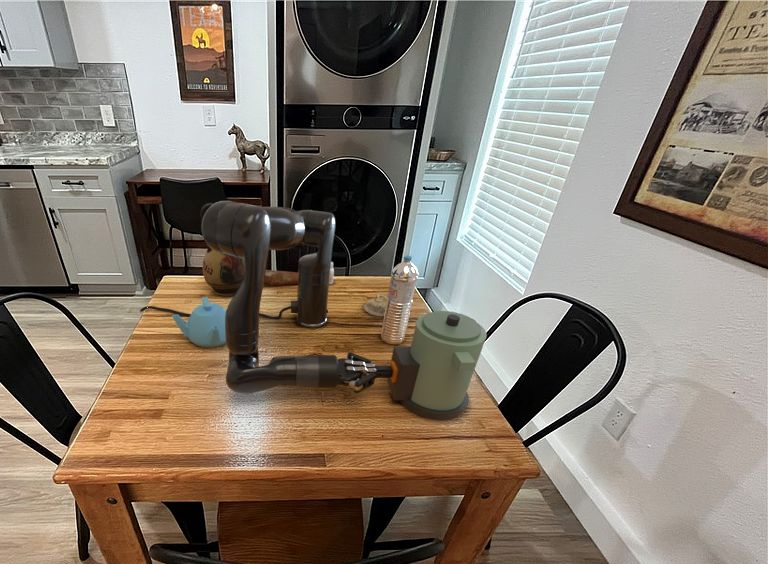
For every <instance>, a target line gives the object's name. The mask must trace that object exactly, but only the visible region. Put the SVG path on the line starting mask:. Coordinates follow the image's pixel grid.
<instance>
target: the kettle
mask: <svg viewBox="0 0 768 564" xmlns="http://www.w3.org/2000/svg"><path fill="white" fill-rule="evenodd" d="M487 336H488V335H487V331H486V329H485V327H483V326H482V325H481V324H480V323H479V322H478V321H477V320H475V319H474V318H472V317H470V316H468V315H466V314H463V313H460V312H456V311H450V310H435V311H430V312H427V313H425V314H422V315H421V316H419V317H418V318H417V319H416V322H415V327H414V331H413V335H412V340H411V343H410V346H393V349H392V355H391V359H390V362H391V361H395V363H396V365H397V368H398V374H397V378H396V383H392V380H391V378H386V382H387V385H388V388H389V391H390V392H391V396H392V398H393V401H399V403H400V404H401V405H402V406H403V407H404V408H405V409H407V410H408V411H410V412H411V413H413V414H414V415H417V416H419V417H422V418H424V419H429V420H433V421H435V420H436V421H450V420H453V419H456V418H459V417H460V416H462V415H463V414H464V412H465V411H466V409H467V406H468V404H469V394H468V389H469V386H470V383H471V380H472V378H473V376H474V373H475V370H476V367H477V364H478V361H479V359H480V356H481V353H482V350H483V348H484V345H485V342H486V339H487ZM390 365H391V363H390V364H389V366H390Z"/></svg>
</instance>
